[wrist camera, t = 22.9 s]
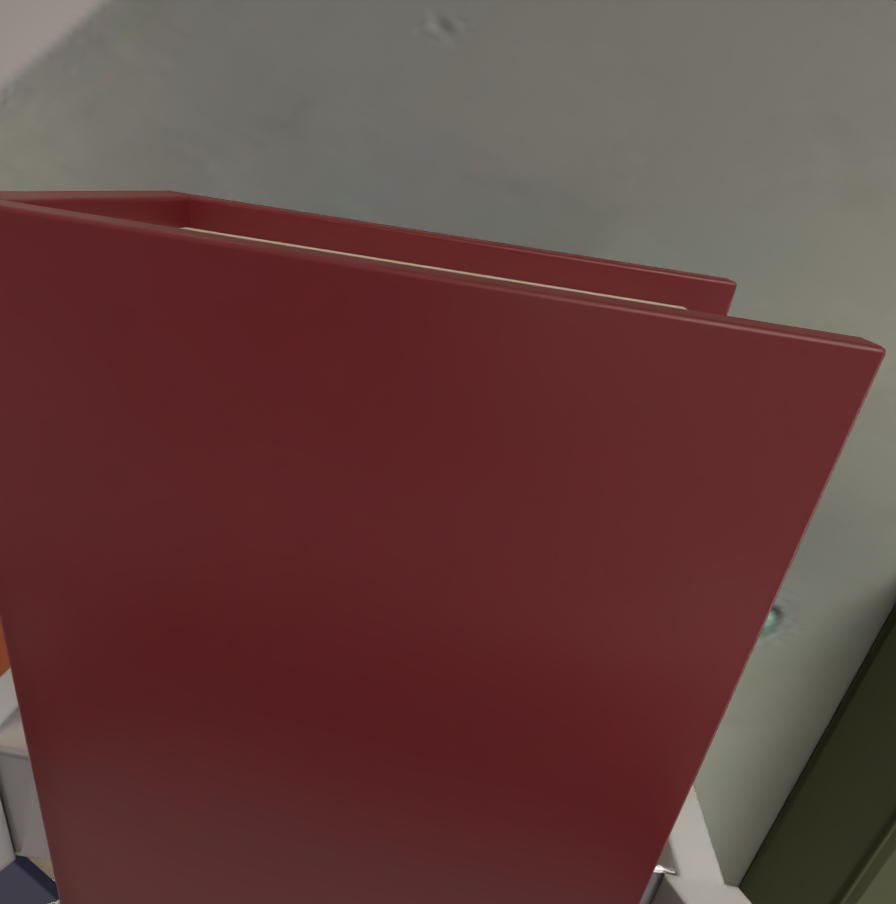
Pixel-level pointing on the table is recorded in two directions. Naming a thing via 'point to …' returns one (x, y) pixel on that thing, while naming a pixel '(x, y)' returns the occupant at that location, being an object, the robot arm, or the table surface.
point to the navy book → (28, 882)
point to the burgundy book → (381, 547)
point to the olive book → (841, 803)
